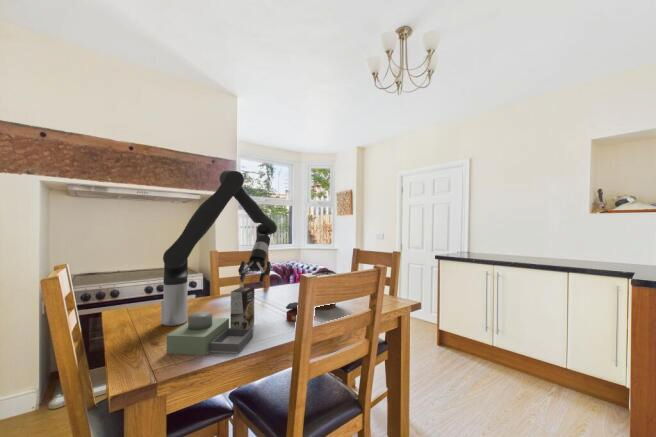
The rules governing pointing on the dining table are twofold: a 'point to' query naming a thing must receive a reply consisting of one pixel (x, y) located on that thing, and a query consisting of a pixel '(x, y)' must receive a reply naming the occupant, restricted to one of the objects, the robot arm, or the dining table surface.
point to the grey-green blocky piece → (207, 336)
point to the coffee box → (242, 308)
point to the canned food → (292, 311)
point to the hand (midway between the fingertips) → (251, 281)
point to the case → (325, 272)
